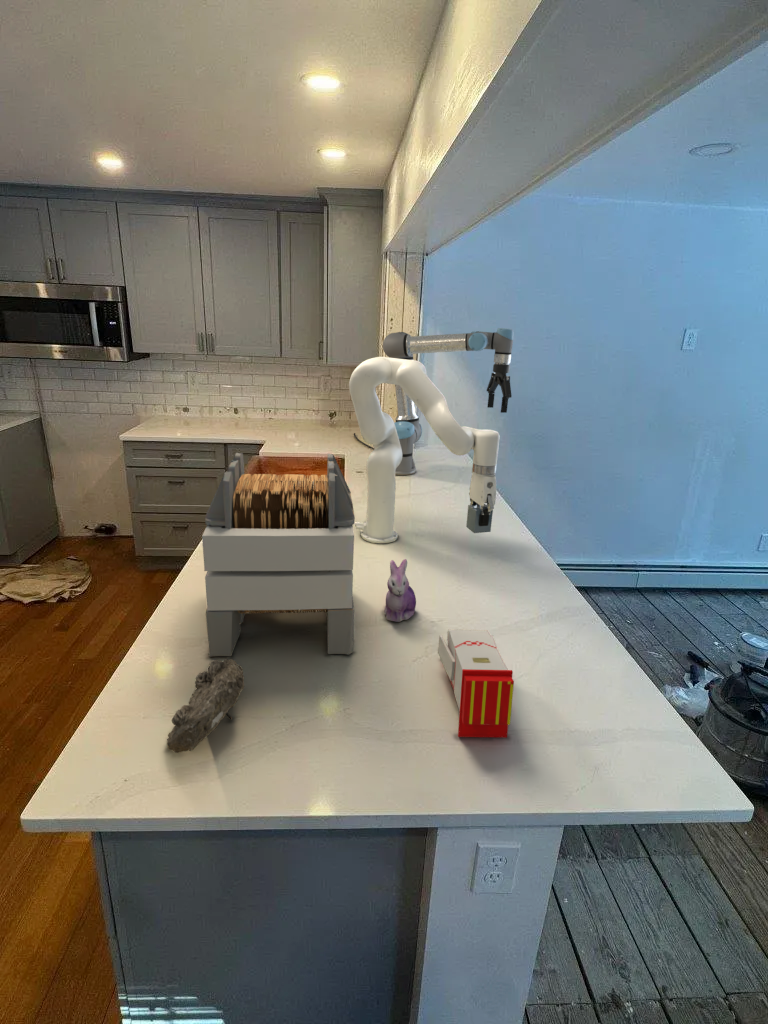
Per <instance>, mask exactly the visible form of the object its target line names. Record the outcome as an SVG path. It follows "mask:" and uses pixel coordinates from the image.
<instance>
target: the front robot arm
mask: <svg viewBox="0 0 768 1024" xmlns="http://www.w3.org/2000/svg"><path fill="white" fill-rule="evenodd" d="M349 378H350V379H349V382H348V390H349V395H350V399H351V402H352V405H353V406H352V407H353V409H354V413H355V418H356V420H357V424H358V428H359V433H360V436H361V438H362V440H363V441H364V443H365V444H367V445H372V447H373V448H374V450H373V449H372V451H371V452H370V454H369V455H368V457H367V461H366V480H367V483H366V519H365V520H366V521H364V522H362V521H355V522H354V527H355V529H356V530H361V534H360V535H361V538H362V539H363V540H364V541H366V542H368V543H373V544H389V543H393V542H395V541H397V540H398V537H399V534H398V532H397V531H396V530H395V528H394V527H395V510H396V509H395V508H396V507H395V506H396V491H397V490H396V489H397V487H396V485H397V483H396V475H395V471H396V468H397V467H398V466H399V464H400V463H401V461H402V449H401V445H400V441H399V438H398V434H397V430H396V427H395V424H394V423H395V421H394V419H393V418H392V417H391V415H390V414H389V413H387V412H385V411H382V406H381V402H380V398H379V396H378V394H377V390H376V388H377V387H378V386H380V385H382V384H389V385H394V386H395V385H399V386H400V387H401V388H402V389H403V390H404V392H405V393H406V394H407V395H408V396H409V398H410V399H411V400H412V401H413V402H414V405H415V407H417V408H418V410H419V411H420V412H421V413H422V415H423V416H424V418H425V420H426V422H427V423H428V424H429V426H430V428H431V429H432V431H433V432H434V434H435V435H436V436H437V438H438V439H439V441H440V442H441V443H442V444H443V445H444V446H445V447H446V449H448V450H449V451H450V452H451V453H452V454H454V455H456V456H465V455H467V454H469V453H470V452H471V450H473V456H472V468H471V478H470V484H469V492H468V496H469V502H470V504H469V505H477V504H479V505H480V506H481V514H480V517H479V526H488V523H489V515H490V512H491V511H492V510H493V511H494V509H495V507H494V506H495V505H496V499H497V476H496V474H497V465H498V457H499V450H500V449H499V448H500V438H501V436H500V433H499V431H497V430H493V429H486V428H485V429H483V428H482V429H479V428H474V427H471V426H465V425H463V426H461V424H460V423H459V422H458V421H457V420H456V419H455V417H454V415H453V414H452V412H451V411H450V407H449V405H448V401H447V398H446V397H445V395H444V394H443V393H442V391H441V390H440V389H439V388H438V387H437V385H435V383H434V382H433V381H432V380H431V379H430V377H429V376H428V370H427V368H426V366H425V365H424V364H423V363H422V362H421V361H419V360H416V359H413V360H406V359H397V358H389V357H388V356H375V357H372V358H371V357H370V358H367V359H366V360H364V361H362V362H361V363H359V364H358V365H357V366H356V368H354V370H353V371H352V373H351V375H350V377H349ZM484 504H485V505H484ZM484 507H487V508H486V509H485V510H484Z"/></svg>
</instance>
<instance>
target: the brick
mask: <svg viewBox="0 0 768 1024" xmlns="http://www.w3.org/2000/svg"><path fill="white" fill-rule="evenodd" d="M484 505H486V503H484ZM486 508H487V507H484V510H485V509H486ZM493 513H494V509H493V510H492V511H491V512H490V515H489V523H488V526H479V517H480V514H481V506H480V505H479V504H477V505H470V504H468V505H467V513H466V514H467V515H466V524H465V527H466V529H468V530H469V531H470V532H472V533H473V534H480V533H483V534H484V533H491V531H492V522H493Z"/></svg>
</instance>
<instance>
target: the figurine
mask: <svg viewBox="0 0 768 1024" xmlns="http://www.w3.org/2000/svg"><path fill="white" fill-rule="evenodd" d="M407 567H408V559H406V558H404V559H403V560H402V561H401V563H400V565H399V566H398V565H397V563H396V562H395V561H394V560H393V559H391V560H390V561H389V570H390V576H389V578H388V579H387V589H388V591H387V592H386V594H385V595H386V596H385V607H384V615H385V616H386V620H387V621H391V622H395V623H400V622H402V621H406V620H409V619H410V618H411V617H413V616H414V615H415V610H416V606H417V597H416V593H415V591H414V590H413V587H411V586H410V582H409V579H408V577H407V574H406V571H407Z"/></svg>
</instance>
